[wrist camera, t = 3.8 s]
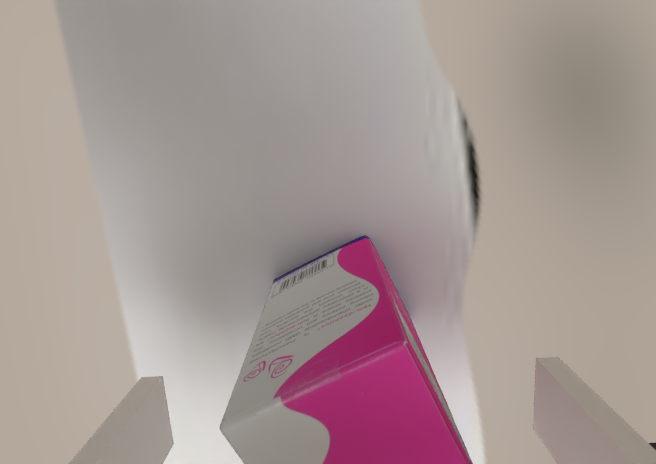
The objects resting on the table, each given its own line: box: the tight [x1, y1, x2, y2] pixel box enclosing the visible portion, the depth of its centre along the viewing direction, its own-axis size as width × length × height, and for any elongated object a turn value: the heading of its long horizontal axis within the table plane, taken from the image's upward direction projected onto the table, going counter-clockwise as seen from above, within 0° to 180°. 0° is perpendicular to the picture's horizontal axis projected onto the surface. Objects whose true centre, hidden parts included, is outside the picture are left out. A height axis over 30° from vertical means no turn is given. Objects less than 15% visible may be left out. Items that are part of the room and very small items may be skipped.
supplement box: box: [220, 236, 473, 464], centre depth 17 cm, size 6×6×12 cm
